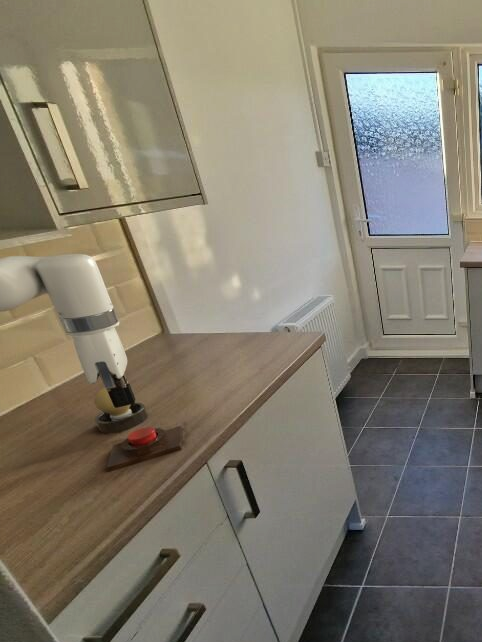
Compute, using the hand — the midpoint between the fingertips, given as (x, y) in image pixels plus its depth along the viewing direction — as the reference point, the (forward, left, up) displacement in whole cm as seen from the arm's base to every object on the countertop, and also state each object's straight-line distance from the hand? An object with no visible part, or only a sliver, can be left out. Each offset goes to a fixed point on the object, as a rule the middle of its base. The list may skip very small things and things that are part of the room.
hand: (125, 403), depth 85 cm
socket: (-5, +14, -12) cm, 19 cm away
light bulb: (-5, +14, -11) cm, 18 cm away
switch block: (0, 0, -12) cm, 12 cm away
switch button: (0, 0, -9) cm, 9 cm away
